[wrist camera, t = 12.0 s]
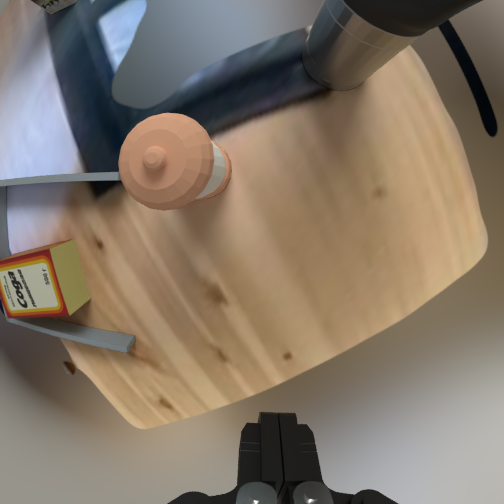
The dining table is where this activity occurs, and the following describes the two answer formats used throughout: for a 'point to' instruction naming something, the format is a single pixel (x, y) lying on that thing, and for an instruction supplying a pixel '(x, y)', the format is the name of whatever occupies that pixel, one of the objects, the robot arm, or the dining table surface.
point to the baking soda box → (43, 282)
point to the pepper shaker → (172, 162)
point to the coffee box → (54, 4)
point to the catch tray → (47, 324)
